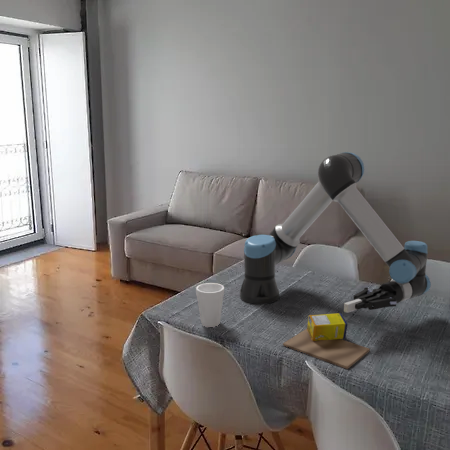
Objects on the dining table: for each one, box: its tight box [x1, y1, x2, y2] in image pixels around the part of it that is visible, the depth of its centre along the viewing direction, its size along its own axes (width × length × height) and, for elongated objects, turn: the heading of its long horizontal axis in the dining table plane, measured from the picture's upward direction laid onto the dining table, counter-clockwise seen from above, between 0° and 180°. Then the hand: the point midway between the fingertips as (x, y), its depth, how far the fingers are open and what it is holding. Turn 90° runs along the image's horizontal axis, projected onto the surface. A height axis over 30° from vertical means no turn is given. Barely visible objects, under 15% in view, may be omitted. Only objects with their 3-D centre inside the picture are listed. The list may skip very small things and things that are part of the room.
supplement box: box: [306, 312, 348, 341], centre depth 160 cm, size 6×6×11 cm
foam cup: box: [195, 282, 225, 328], centre depth 172 cm, size 10×9×13 cm
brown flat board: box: [282, 328, 371, 370], centre depth 155 cm, size 22×14×1 cm, turn 49°
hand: (345, 308), depth 158 cm, fingers closed
